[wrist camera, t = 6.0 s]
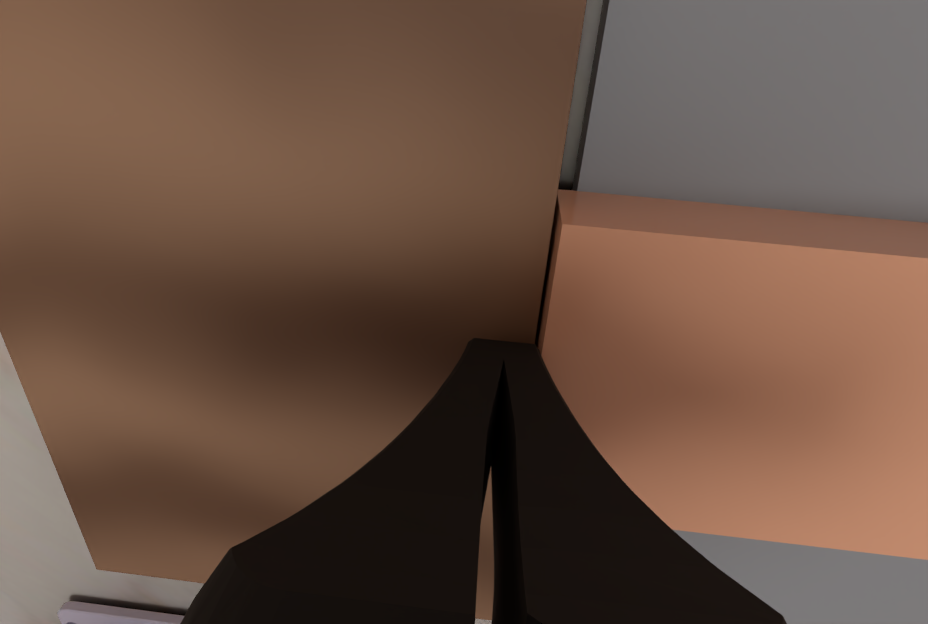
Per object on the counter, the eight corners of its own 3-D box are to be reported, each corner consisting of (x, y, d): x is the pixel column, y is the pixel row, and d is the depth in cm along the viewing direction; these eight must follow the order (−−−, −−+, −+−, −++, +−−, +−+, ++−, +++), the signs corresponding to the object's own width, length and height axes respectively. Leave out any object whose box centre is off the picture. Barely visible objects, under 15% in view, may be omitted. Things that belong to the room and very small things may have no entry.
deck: (494, 560, 18) (492, 620, 16) (136, 516, 19) (96, 569, 17) (597, -151, 9) (614, -185, 7) (-96, -195, 10) (-229, -235, 8)
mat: (928, 654, 18) (944, 679, 18) (504, 600, 19) (503, 622, 18) (1712, -273, 7) (1835, -301, 7) (657, -323, 8) (669, -353, 7)
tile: (911, 494, 14) (966, 564, 12) (517, 449, 15) (516, 511, 13) (1080, 236, 11) (1188, 283, 9) (556, 189, 11) (562, 224, 9)
